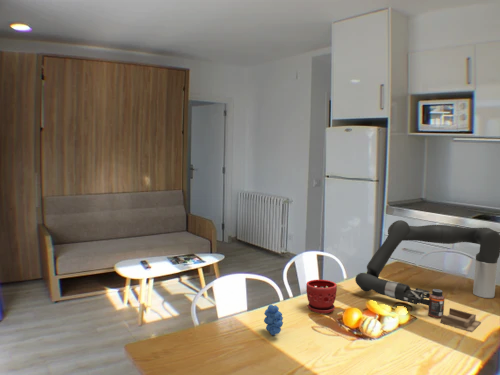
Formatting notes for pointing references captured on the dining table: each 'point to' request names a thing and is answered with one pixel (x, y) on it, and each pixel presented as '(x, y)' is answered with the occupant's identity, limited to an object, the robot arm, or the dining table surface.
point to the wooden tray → (460, 320)
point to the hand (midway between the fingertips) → (433, 300)
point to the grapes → (273, 320)
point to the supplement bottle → (436, 304)
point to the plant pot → (321, 295)
